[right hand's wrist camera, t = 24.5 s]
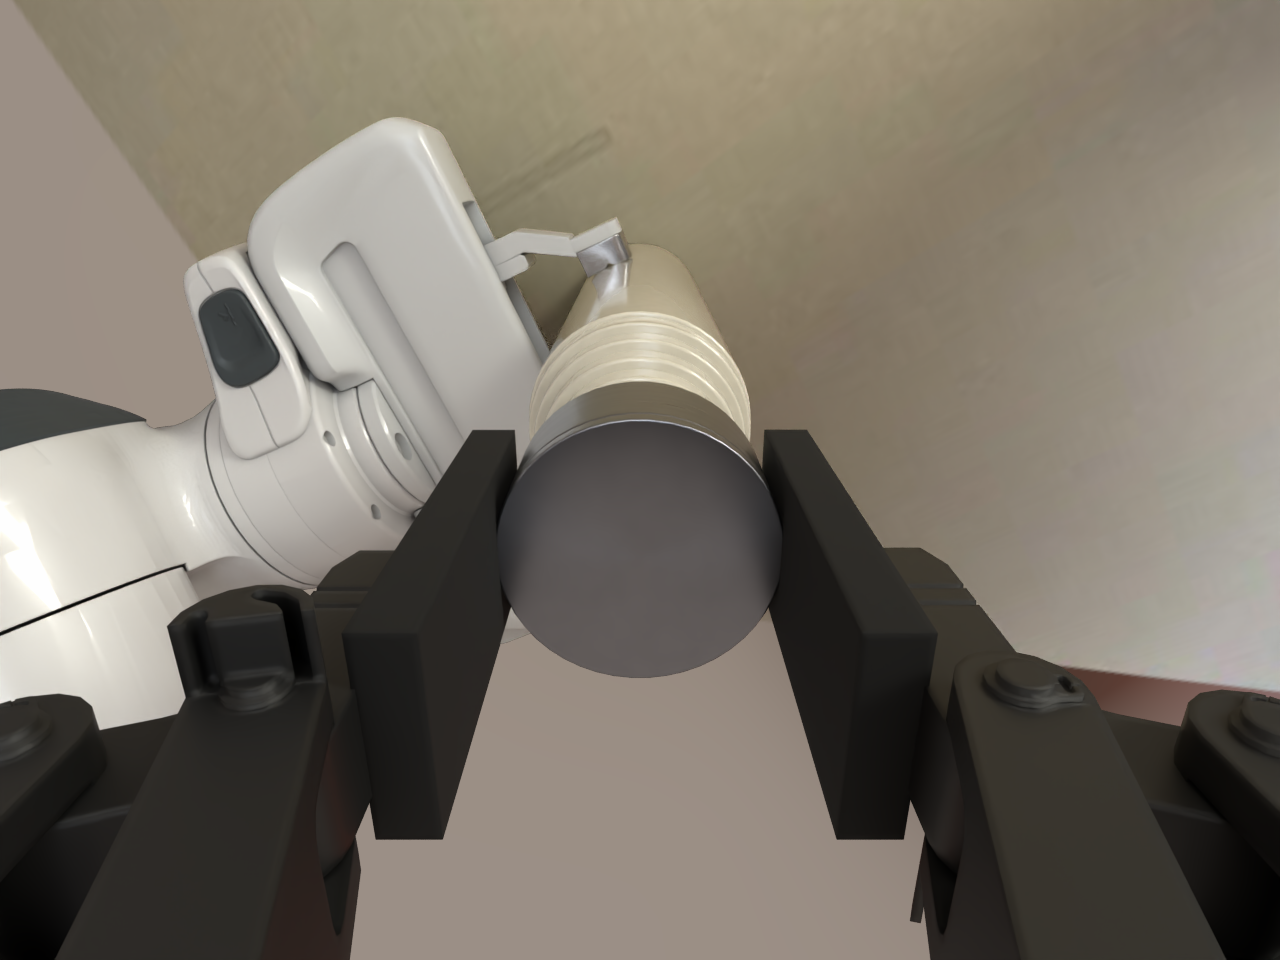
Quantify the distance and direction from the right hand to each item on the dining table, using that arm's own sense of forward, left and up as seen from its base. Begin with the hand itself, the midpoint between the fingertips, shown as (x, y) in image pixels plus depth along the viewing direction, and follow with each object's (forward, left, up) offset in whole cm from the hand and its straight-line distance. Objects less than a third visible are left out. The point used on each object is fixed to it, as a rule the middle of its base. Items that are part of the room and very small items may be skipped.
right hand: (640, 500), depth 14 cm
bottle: (0, 0, -23) cm, 23 cm away
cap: (0, 0, +2) cm, 2 cm away
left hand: (0, +1, -17) cm, 17 cm away
